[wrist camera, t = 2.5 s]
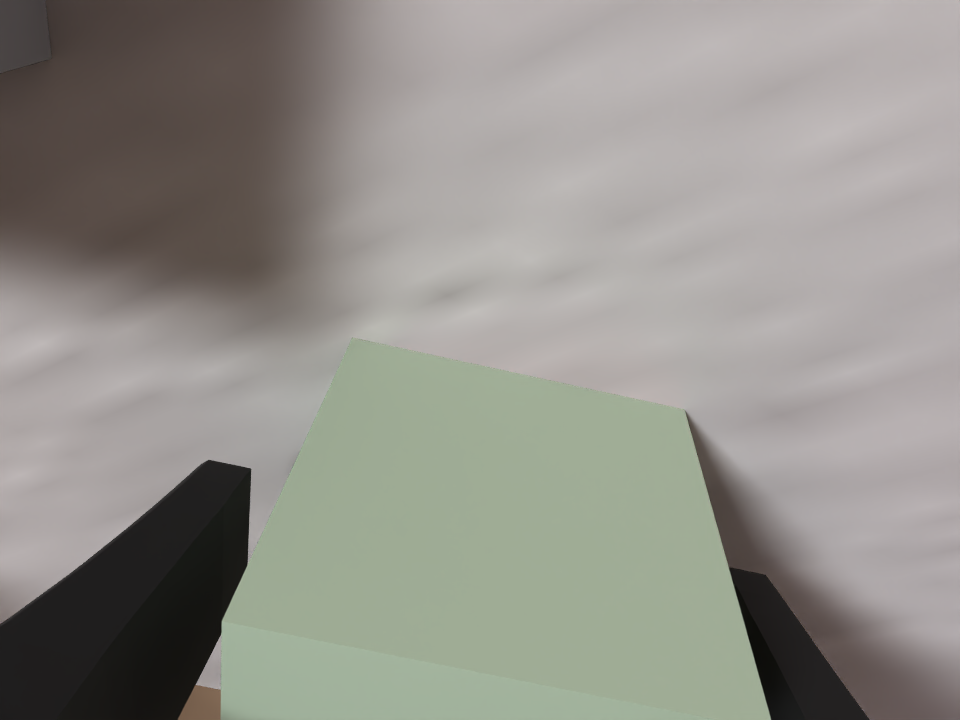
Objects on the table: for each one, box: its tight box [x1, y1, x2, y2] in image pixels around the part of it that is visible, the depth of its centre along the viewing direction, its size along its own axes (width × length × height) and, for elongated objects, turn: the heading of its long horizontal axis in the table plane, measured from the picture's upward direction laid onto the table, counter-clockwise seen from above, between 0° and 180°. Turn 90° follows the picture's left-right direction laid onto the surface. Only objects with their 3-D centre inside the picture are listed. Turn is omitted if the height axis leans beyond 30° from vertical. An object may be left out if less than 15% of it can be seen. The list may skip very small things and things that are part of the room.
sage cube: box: [221, 338, 771, 720], centre depth 10 cm, size 5×5×5 cm
